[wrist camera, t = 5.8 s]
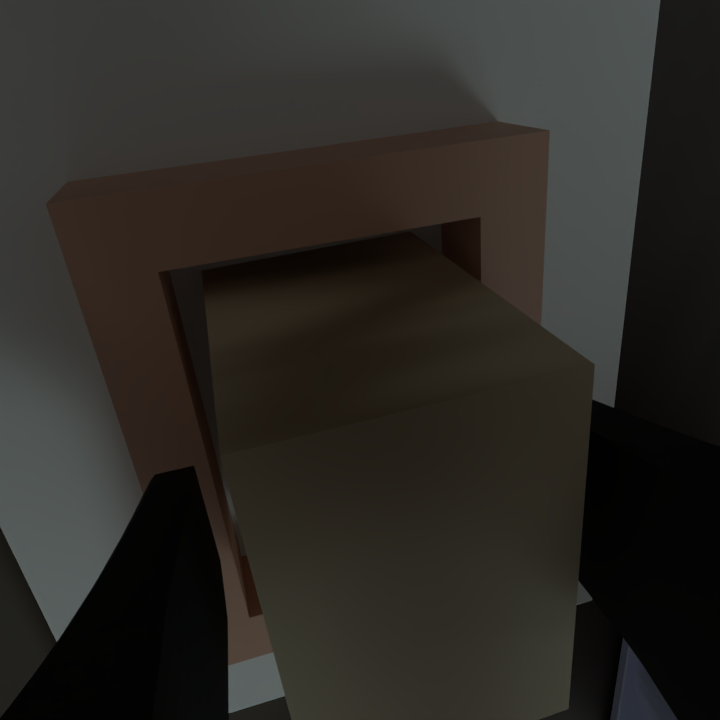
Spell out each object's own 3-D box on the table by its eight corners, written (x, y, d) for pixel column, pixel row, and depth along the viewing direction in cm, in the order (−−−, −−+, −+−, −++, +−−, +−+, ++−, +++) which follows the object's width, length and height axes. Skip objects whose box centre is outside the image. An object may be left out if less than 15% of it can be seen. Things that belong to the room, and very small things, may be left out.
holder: (573, 575, 19) (630, 650, 17) (113, 713, 16) (101, 826, 14) (639, -148, 11) (772, -210, 8) (-265, -100, 8) (-453, -171, 6)
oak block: (410, 231, 12) (594, 364, 6) (428, 476, 14) (568, 708, 9) (201, 270, 11) (220, 455, 6) (263, 520, 14) (313, 799, 8)
